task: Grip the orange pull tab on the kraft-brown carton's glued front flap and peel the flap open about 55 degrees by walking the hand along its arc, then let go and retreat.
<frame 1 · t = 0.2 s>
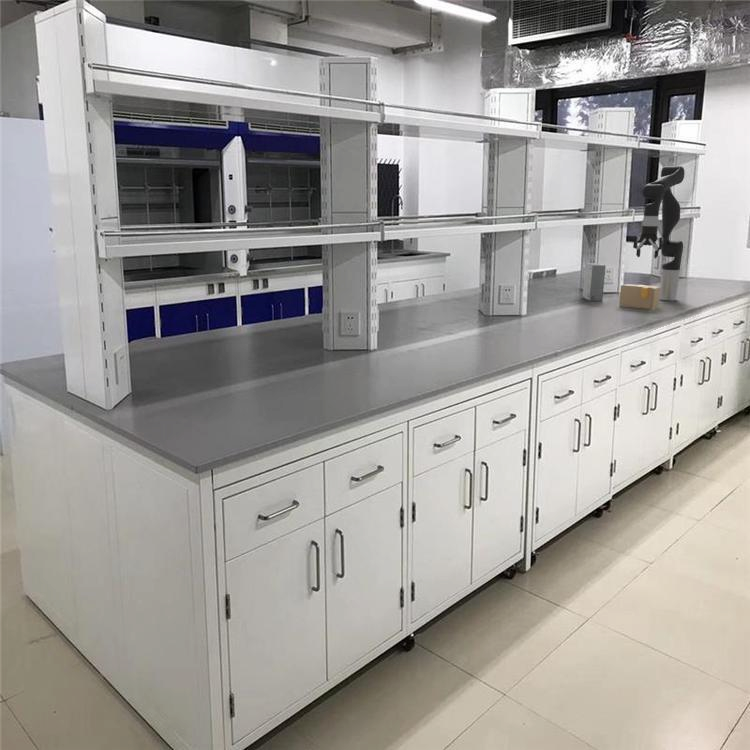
hand: (646, 257, 366), 27 cm above the countertop, fingers open, 8 cm apart
carton: (638, 306, 382), on the countertop
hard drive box: (592, 299, 408), on the countertop
flap: (634, 297, 375), point 6 cm above the countertop, hinge at 0.0°
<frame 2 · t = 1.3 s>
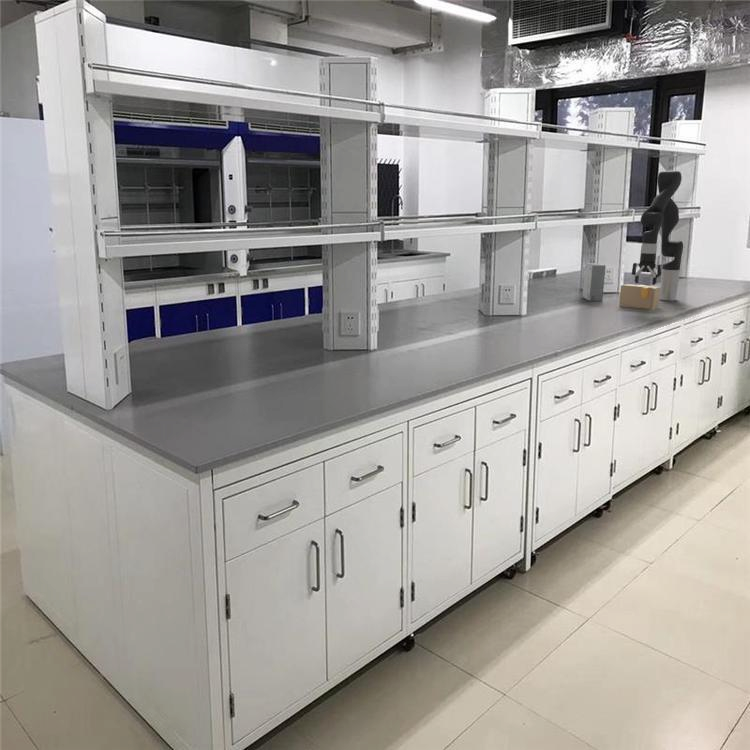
hand: (645, 284, 369), 13 cm above the countertop, fingers open, 8 cm apart
nothing on the countertop moved.
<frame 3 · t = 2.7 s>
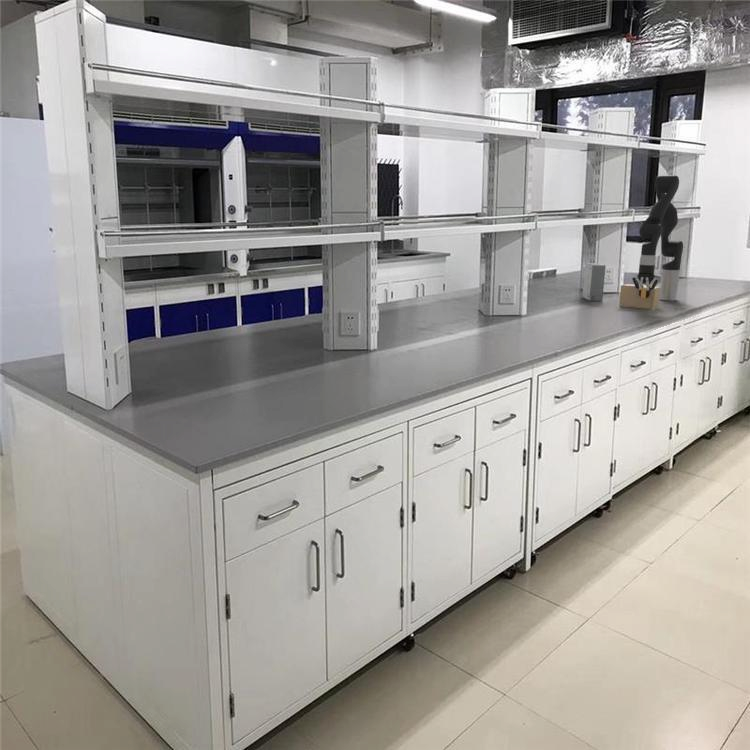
hand: (643, 297, 371), 7 cm above the countertop, fingers closed on flap, 2 cm apart
flap: (634, 297, 375), point 6 cm above the countertop, hinge at 0.0°, touching gripper
everything else where it was.
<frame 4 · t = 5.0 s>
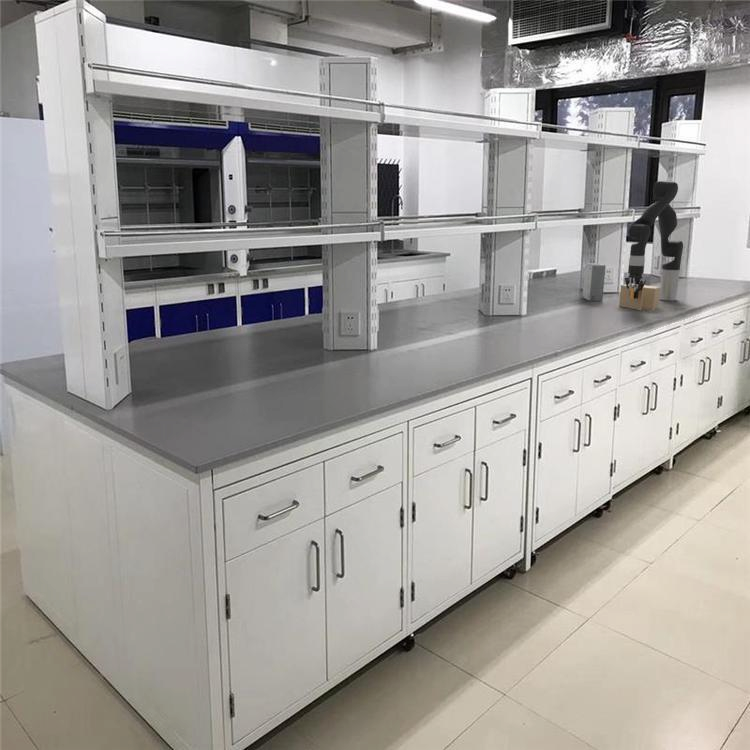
hand: (633, 297, 368), 7 cm above the countertop, fingers closed on flap, 2 cm apart
flap: (628, 297, 373), point 6 cm above the countertop, hinge at 29.4°, touching gripper
everything else where it was.
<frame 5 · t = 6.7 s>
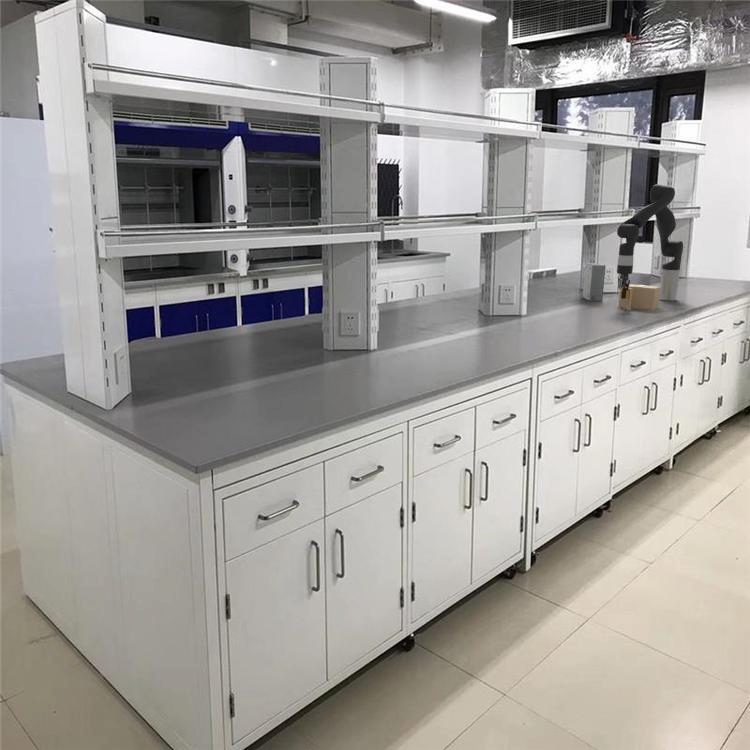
hand: (622, 297, 368), 7 cm above the countertop, fingers open, 3 cm apart
flap: (621, 297, 373), point 6 cm above the countertop, hinge at 52.2°
everything else where it was.
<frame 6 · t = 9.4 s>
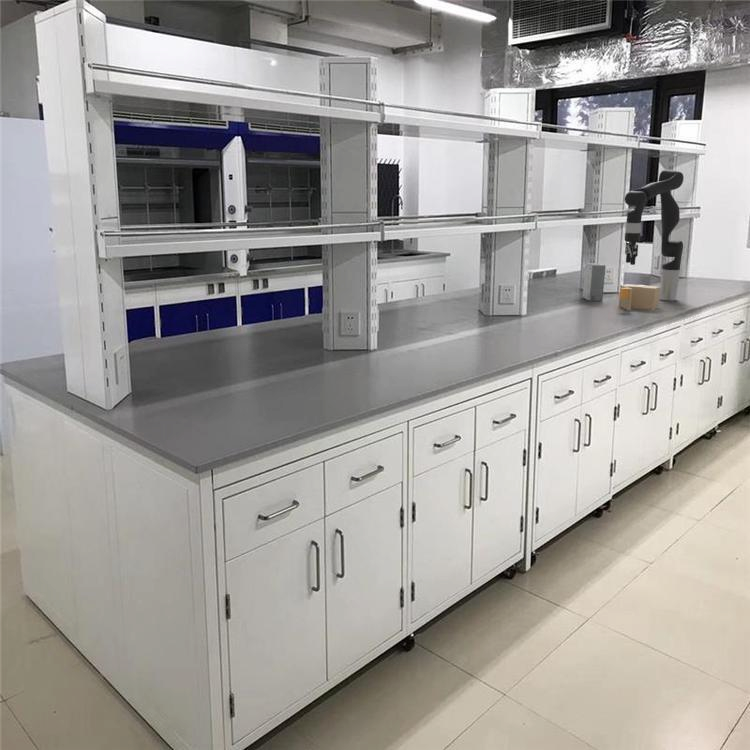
hand: (630, 263, 369), 24 cm above the countertop, fingers open, 8 cm apart
nothing on the countertop moved.
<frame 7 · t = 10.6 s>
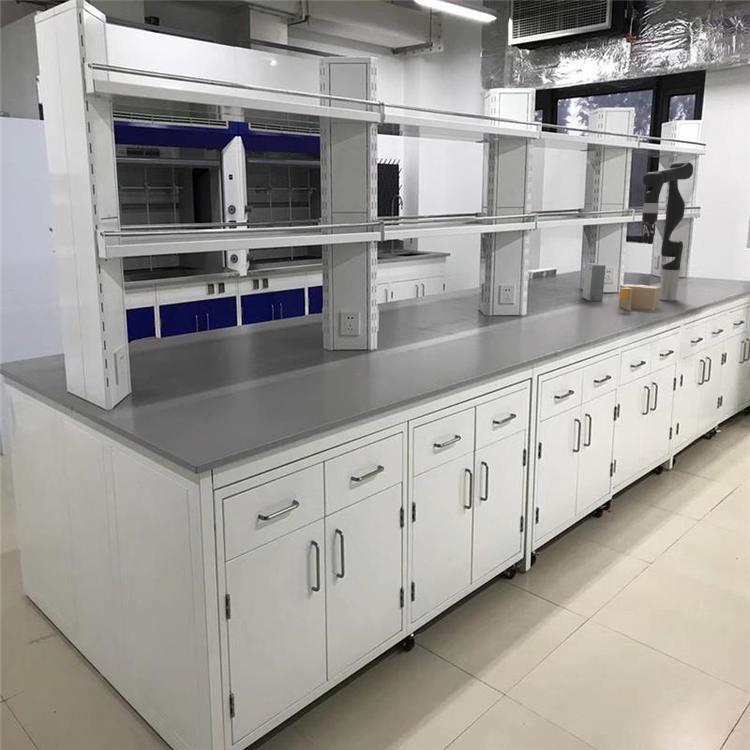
hand: (647, 243, 379), 33 cm above the countertop, fingers open, 8 cm apart
nothing on the countertop moved.
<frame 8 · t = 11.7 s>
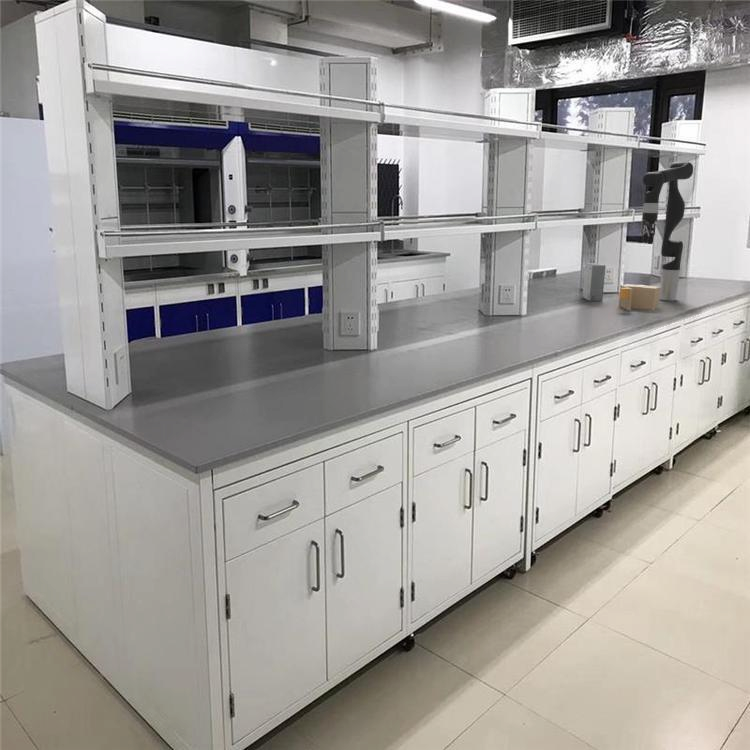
hand: (647, 243, 379), 33 cm above the countertop, fingers open, 8 cm apart
nothing on the countertop moved.
at the end: flap at +52° (first picture: +0°); the gripper is holding nothing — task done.
